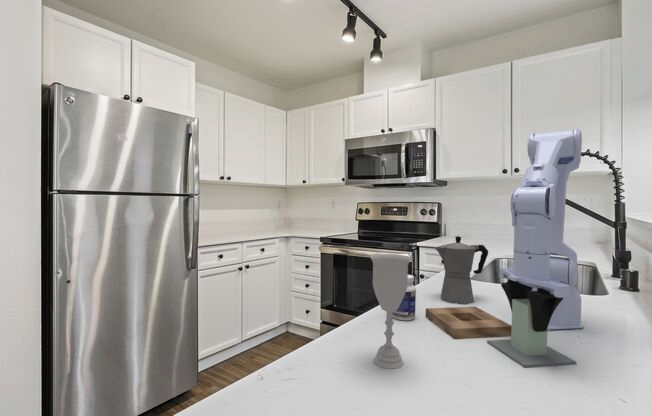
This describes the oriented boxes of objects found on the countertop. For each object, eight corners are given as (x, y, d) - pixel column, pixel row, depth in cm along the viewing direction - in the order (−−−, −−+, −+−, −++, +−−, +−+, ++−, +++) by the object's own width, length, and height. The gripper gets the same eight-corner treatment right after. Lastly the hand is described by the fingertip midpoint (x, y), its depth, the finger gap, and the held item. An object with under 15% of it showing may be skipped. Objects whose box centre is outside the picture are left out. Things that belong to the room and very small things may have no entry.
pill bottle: (416, 322, 77) (416, 279, 77) (390, 320, 78) (391, 277, 78) (414, 314, 83) (415, 273, 82) (390, 312, 84) (391, 272, 84)
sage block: (529, 345, 64) (531, 298, 64) (546, 354, 60) (548, 305, 60) (511, 346, 64) (512, 299, 64) (526, 356, 60) (528, 305, 60)
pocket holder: (475, 314, 83) (475, 306, 83) (512, 335, 70) (512, 326, 70) (425, 316, 81) (425, 308, 81) (454, 338, 68) (454, 328, 68)
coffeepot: (440, 304, 90) (442, 238, 90) (428, 294, 100) (429, 234, 99) (496, 304, 91) (497, 238, 91) (478, 294, 101) (479, 234, 100)
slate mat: (532, 340, 68) (532, 338, 68) (576, 363, 58) (576, 361, 58) (486, 342, 66) (487, 340, 66) (524, 367, 56) (524, 365, 56)
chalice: (400, 376, 53) (402, 262, 53) (361, 364, 57) (363, 258, 56) (414, 358, 59) (416, 256, 59) (378, 348, 63) (380, 252, 62)
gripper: (486, 246, 68) (485, 313, 69) (543, 259, 54) (540, 343, 54) (517, 246, 69) (516, 312, 70) (581, 258, 55) (579, 341, 55)
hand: (529, 325), depth 62 cm, fingers open, 4 cm apart
